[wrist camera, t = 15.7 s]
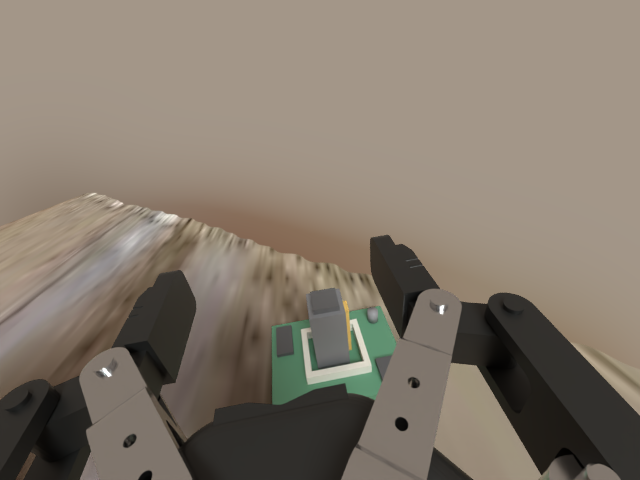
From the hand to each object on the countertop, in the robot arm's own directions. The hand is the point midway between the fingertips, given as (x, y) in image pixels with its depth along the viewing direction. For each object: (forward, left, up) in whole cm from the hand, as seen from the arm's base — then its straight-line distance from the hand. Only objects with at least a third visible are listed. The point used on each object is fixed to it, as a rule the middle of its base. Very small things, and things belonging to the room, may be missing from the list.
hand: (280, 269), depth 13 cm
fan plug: (+3, +16, -29) cm, 33 cm away
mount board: (+3, +16, -30) cm, 34 cm away
